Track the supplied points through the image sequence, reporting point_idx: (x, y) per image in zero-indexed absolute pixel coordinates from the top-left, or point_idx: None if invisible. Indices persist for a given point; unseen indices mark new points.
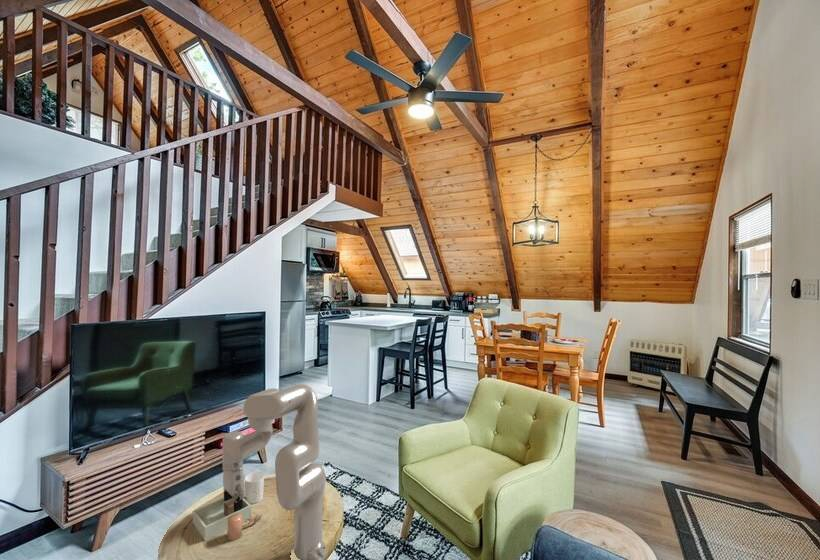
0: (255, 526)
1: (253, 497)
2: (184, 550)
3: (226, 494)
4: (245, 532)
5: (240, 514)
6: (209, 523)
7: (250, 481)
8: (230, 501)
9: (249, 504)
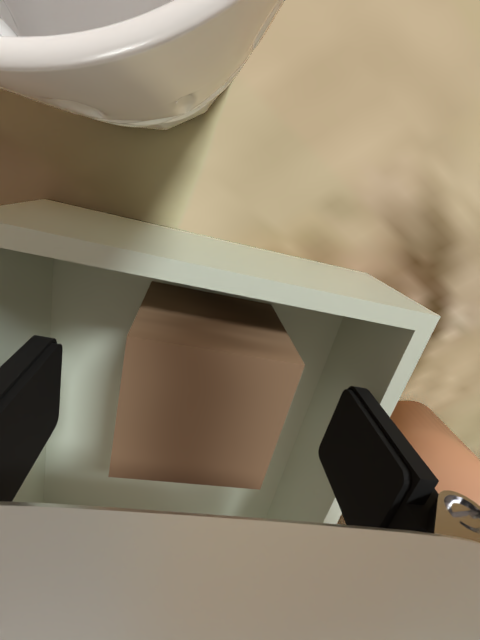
0: (470, 318)
1: (228, 85)
2: None
3: (15, 476)
4: (439, 388)
5: None
6: (147, 483)
7: None
8: (160, 430)
9: (407, 313)
